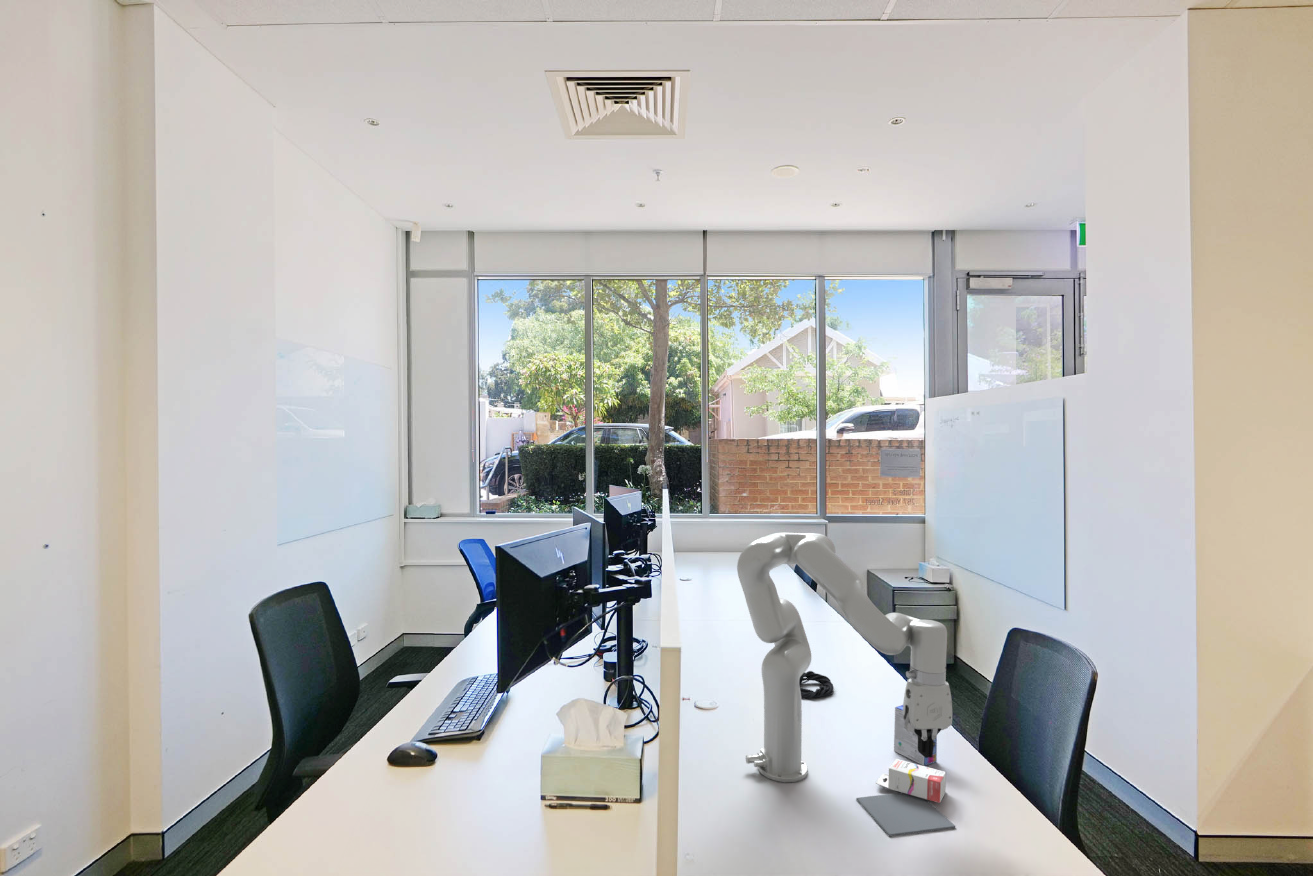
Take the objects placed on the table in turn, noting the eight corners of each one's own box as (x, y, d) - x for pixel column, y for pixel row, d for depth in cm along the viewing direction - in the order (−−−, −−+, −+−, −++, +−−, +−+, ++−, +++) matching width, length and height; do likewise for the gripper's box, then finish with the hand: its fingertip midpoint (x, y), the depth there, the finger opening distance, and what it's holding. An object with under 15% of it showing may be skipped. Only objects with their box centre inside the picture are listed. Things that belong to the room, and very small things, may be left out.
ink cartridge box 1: (938, 761, 167) (938, 707, 167) (925, 767, 164) (925, 711, 164) (906, 746, 176) (906, 694, 176) (893, 751, 173) (893, 698, 173)
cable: (819, 680, 225) (819, 667, 225) (846, 694, 212) (846, 681, 212) (779, 687, 218) (779, 674, 218) (804, 703, 205) (804, 689, 205)
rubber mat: (889, 836, 136) (889, 834, 136) (856, 799, 149) (856, 797, 149) (955, 828, 139) (955, 826, 139) (917, 793, 153) (917, 790, 153)
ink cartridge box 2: (940, 781, 147) (875, 764, 154) (940, 804, 146) (874, 785, 154) (946, 770, 154) (883, 754, 162) (945, 792, 153) (882, 775, 161)
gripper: (907, 683, 140) (905, 765, 140) (967, 680, 143) (964, 760, 143) (889, 671, 148) (886, 749, 148) (946, 668, 150) (943, 744, 151)
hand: (925, 754), depth 146 cm, fingers closed
